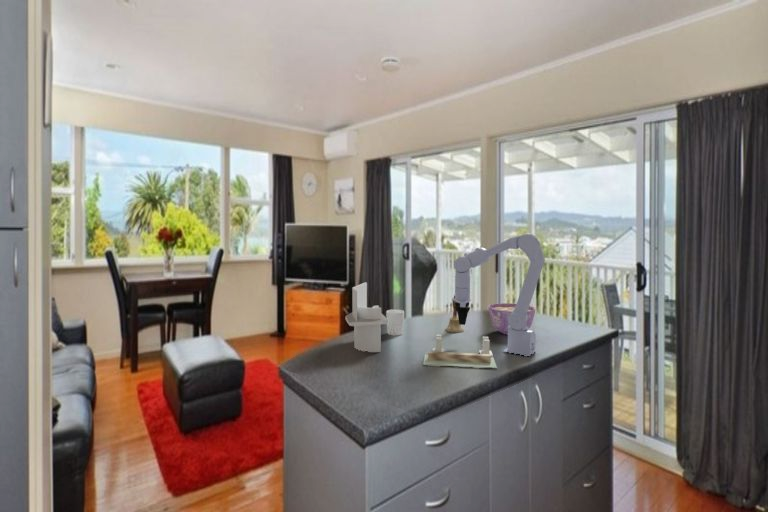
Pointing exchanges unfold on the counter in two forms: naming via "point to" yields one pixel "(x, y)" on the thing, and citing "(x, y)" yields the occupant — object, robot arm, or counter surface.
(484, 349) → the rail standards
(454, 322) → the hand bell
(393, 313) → the white cup
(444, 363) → the green mat
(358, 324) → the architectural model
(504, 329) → the bowl of food
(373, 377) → the counter surface
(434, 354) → the oak rail
